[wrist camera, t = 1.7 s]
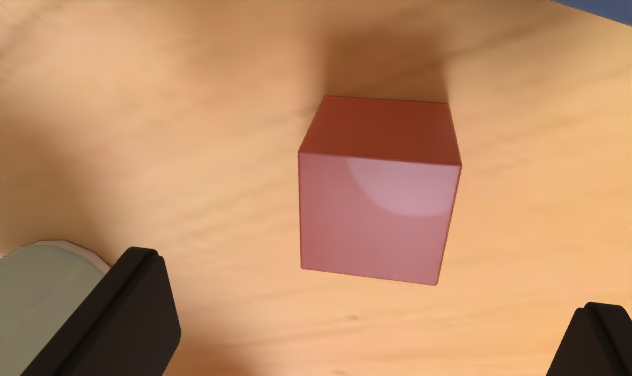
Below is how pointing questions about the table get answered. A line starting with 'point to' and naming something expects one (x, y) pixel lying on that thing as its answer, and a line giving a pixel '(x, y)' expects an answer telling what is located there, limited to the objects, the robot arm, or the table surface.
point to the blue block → (604, 8)
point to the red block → (378, 188)
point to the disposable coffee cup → (41, 296)
